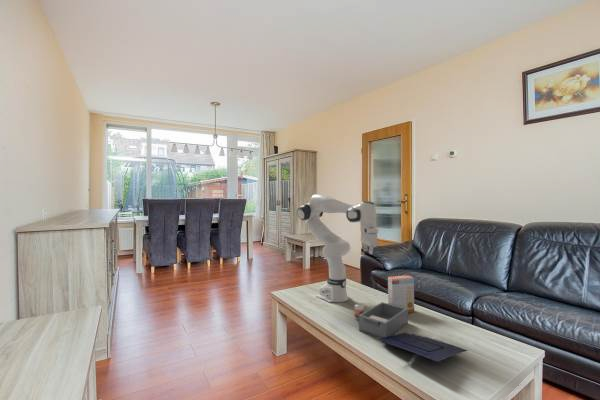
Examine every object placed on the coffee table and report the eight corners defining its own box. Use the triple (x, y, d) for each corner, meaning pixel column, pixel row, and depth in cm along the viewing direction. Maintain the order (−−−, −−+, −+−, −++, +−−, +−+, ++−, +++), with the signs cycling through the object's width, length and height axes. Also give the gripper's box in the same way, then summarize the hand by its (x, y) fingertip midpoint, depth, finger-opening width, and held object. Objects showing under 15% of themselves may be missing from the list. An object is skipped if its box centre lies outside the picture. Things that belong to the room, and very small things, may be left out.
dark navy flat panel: (407, 337, 145) (407, 330, 145) (469, 357, 120) (468, 348, 121) (375, 345, 131) (375, 337, 132) (437, 369, 107) (437, 359, 107)
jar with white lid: (353, 319, 161) (352, 305, 161) (357, 316, 164) (357, 302, 164) (360, 321, 157) (360, 307, 157) (365, 319, 161) (365, 304, 161)
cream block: (365, 328, 146) (365, 319, 146) (372, 324, 151) (371, 315, 151) (383, 335, 139) (383, 324, 139) (389, 330, 145) (389, 320, 145)
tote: (357, 331, 146) (357, 315, 146) (383, 315, 166) (382, 301, 166) (385, 341, 135) (384, 324, 135) (408, 322, 155) (408, 308, 155)
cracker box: (409, 308, 175) (408, 274, 175) (414, 312, 169) (414, 277, 169) (387, 310, 173) (387, 276, 173) (392, 314, 167) (392, 278, 167)
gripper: (358, 227, 176) (358, 249, 176) (368, 230, 156) (368, 255, 156) (368, 227, 177) (368, 249, 177) (379, 230, 156) (379, 255, 156)
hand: (368, 252), depth 166 cm, fingers open, 8 cm apart
